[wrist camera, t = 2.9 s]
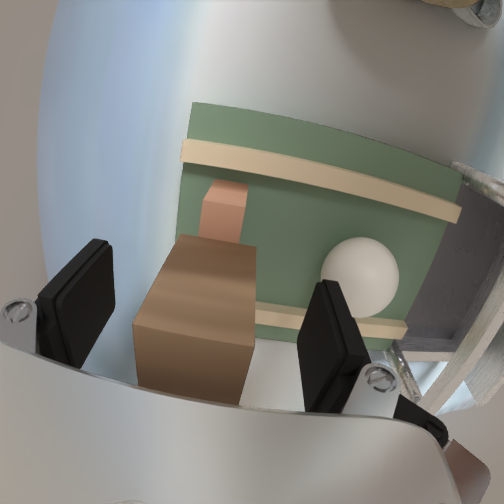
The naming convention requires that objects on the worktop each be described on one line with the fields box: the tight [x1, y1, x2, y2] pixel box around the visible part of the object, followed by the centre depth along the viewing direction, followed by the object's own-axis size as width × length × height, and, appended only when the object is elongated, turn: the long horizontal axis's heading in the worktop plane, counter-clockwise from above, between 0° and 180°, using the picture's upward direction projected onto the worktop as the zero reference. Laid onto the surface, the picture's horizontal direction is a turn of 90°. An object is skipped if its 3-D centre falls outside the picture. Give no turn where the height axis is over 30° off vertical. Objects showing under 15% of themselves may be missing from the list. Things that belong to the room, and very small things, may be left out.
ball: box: [321, 237, 399, 318], centre depth 15 cm, size 4×4×4 cm
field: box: [175, 102, 462, 351], centre depth 17 cm, size 13×15×2 cm
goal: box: [383, 161, 504, 416], centre depth 15 cm, size 14×8×8 cm, turn 169°
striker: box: [132, 179, 257, 405], centre depth 12 cm, size 6×3×9 cm, turn 170°
